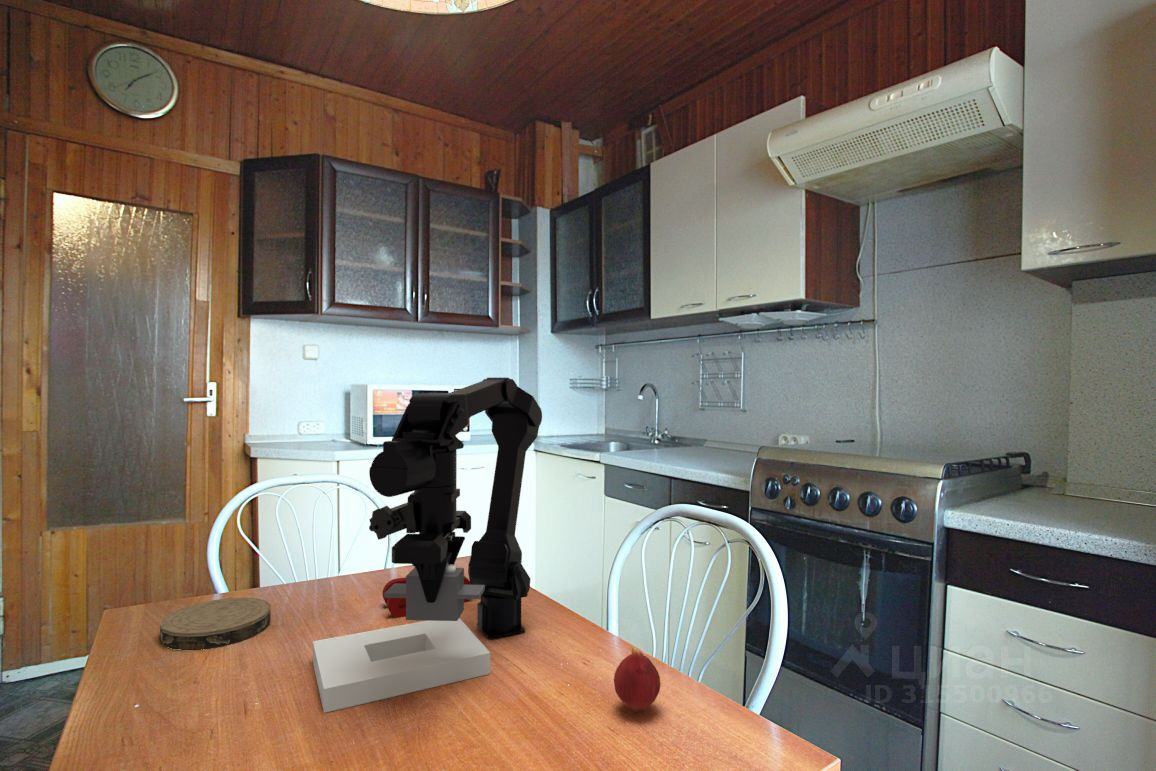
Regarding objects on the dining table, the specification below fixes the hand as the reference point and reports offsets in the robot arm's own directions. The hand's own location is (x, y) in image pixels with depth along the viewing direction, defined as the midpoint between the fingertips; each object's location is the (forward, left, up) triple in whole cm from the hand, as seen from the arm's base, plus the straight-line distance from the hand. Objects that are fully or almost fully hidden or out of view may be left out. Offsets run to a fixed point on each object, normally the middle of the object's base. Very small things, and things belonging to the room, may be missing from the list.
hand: (435, 596), depth 84 cm
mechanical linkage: (-7, -29, -12) cm, 33 cm away
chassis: (+3, -7, -12) cm, 14 cm away
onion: (-21, +19, -12) cm, 31 cm away
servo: (0, 0, -3) cm, 3 cm away
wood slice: (+27, -35, -12) cm, 46 cm away
